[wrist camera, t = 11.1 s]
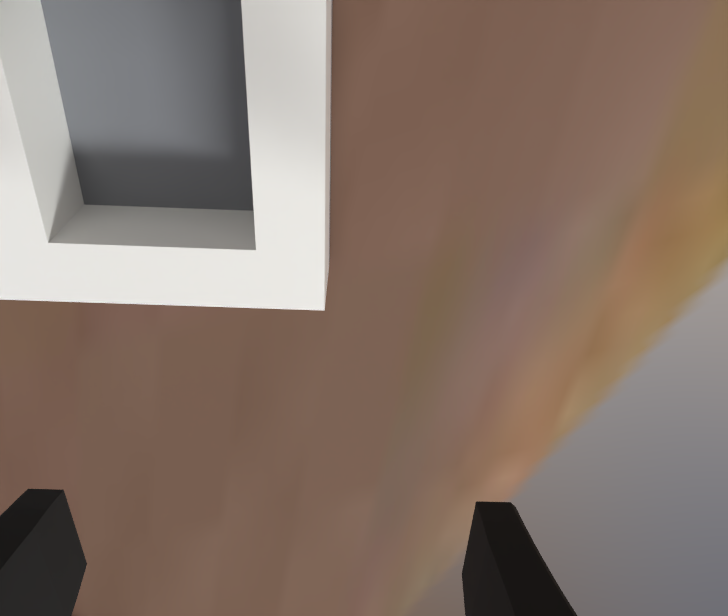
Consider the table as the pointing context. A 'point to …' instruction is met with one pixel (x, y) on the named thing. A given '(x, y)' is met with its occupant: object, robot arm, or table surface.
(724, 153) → the table surface
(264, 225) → the white frame
